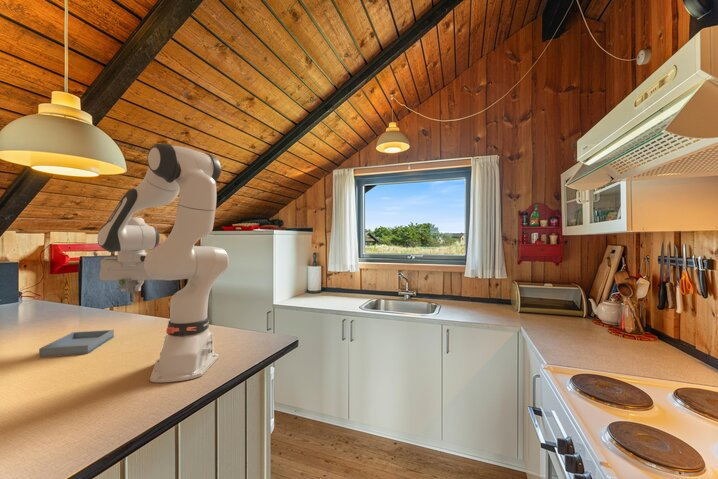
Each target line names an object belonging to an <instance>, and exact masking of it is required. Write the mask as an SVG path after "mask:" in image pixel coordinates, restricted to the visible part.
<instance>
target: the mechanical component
mask: <svg viewBox="0 0 718 479" xmlns="http://www.w3.org/2000/svg"><path fill="white" fill-rule="evenodd" d="M119 284H120V286H119V288H120V290H121V289H127V292H129V303H136V295H135V292H136V291H135V287H137V286H138V285H139V283H138V280H132V279H125V280H124V279H120V280H119ZM119 284H118V285H119Z"/></svg>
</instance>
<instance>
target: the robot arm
mask: <svg viewBox="0 0 718 479" xmlns="http://www.w3.org/2000/svg"><path fill="white" fill-rule="evenodd" d="M146 158H147V159H146V160H147V166H148V168H147V171H146V173H145V176H144V178H143V179H142V181H141V182H140V183H139V184H137V186H135V187H133V188H130V189H128V190H127V191H126V192H125V193H124V195H123V196H122V197H121V199H120V200H119V202H118V204H117V205H116V207H115V208H114V210H113V212H112V213H111V215H110V217H108V220H107V221H106V222H105V223H104V224H103V226H102V227H101V228H99V231H98V233H97V244H98V245H99V247H100V248H102V249H103V250H104V251H106V252H109V253H114V252H117V254H116V255H117V256H114V257H112V256H111V257H110V256H106V257H103V258H102V259H101V260H100V263H99V264H100V269H99V270H100V271H99V280H100V281H104V282H105V281H108V282H109V281H116V282H117V285H118V286H119V287H120V284H119V280H120V279H124V280H125V279H132V280H138V283H139V285H138V286H137V287H135V292H140V291H142V286H143V284H144V283H145V281H157V280H159V281H177V280H178V281H179V280H187V279H188V282H187V283H186V285H185V286H184V287H183V288H181V289H180V290H177V291H176V292H175V293H174V294H173V295H172V296H171V299H170V301H169V304H170V305H169V314H170V315H169V320H168V325H167V327H166V331H165V332H166V335H165V336H164V341H163V344H162V348H161V351H160V353H159V358H158V359H157V360H156V361H155V363H154V366H153V368H152V372H151V375H150V376H149V382H152V383H171V382H173V383H174V382H181V381H187V380H192V379H196V378H199V377H202V376H203V375H204V374H205V373H206V372H207V370H208V369H209V368H210V367H211V366H212V365H213V364H214V363H215V362H216V361H217V360H218V359H219V358H220V355H219V353H216V352H215V349H214V345H215V344H214V333H213V332H212V331H210V329H209V325H210V320H209V316H208V306H209V296H210V293H211V290H212V288H213V286H214V284H215V282H216V281H217V280H218V279H219V278H220V277H221V275H222V274H224V273H225V272H227V269H228V267H229V264H230V257H229V254H228V253H227V251H226V250H225V249H224V248H222V247H218V246H212V245H211V246H210V245H195V244H196V243H197V242H199V240H201V239H203V238H205V237H207V236H209V235H210V234H211V232H213V229H214V223H215V216H216V210H217V199H218V198H217V196H218V195H217V181H218V180H219V178H220V177H221V173H222V167H221V163H220V160H219V159H218V158H217V157H215V156H214V155H212V154H210V153H207V152H206V153H204V152H202V151H198V150H195V149H192V148H189V147H186V146H180V145H172V144H169V143H155V144H154V145H153V146H151V148H150V149H149V150H148V153H147V157H146ZM177 197H178V198H177ZM176 198H177V199H178V200H177V207H176V213H175V218H174V224H173V227H172V229H171V230H170V231H171V232H170V233H169V235H168V236H167V237H166V238H165V240H164V241H163V242H161V243H160V240H161V239H160V238H161V237H160V235H161V234H160V232H159V230H158V229H156V227H155V226H151V225H149V224H147V223H146V222H145V219H144V218H143V217H139V216H134V214H136V213H137V212H139V211H143V210H145V209H149V208H157V207H164V206H167V205H169V204H171V203H172V202H174V201H175V200H176ZM149 250H150V251H149ZM146 251H148V252H146ZM120 292H128V288H127V289H121V288H120Z"/></svg>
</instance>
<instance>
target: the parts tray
mask: <svg viewBox="0 0 718 479" xmlns="http://www.w3.org/2000/svg"><path fill="white" fill-rule="evenodd" d="M114 335H115V330H114V329H107V330H89V331H88V330H87V331H72V332H71V333H69V334H67V335H65V336H62V337H60V338H58V339H56V340H54V341H52V342H50V343H48V344H46V345H43V346H41V347H40V348H38V351H39V352H38V353H39V354H38V357H39V358H49V357H62V356H76V355H88V354H90V353H91V352H93V351H94V350H96V349H98V348H99V347H101V346H102V345H103V344H105V343H107V342H109V341H110V340H111V339H113V338H114V337H115V336H114Z"/></svg>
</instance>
